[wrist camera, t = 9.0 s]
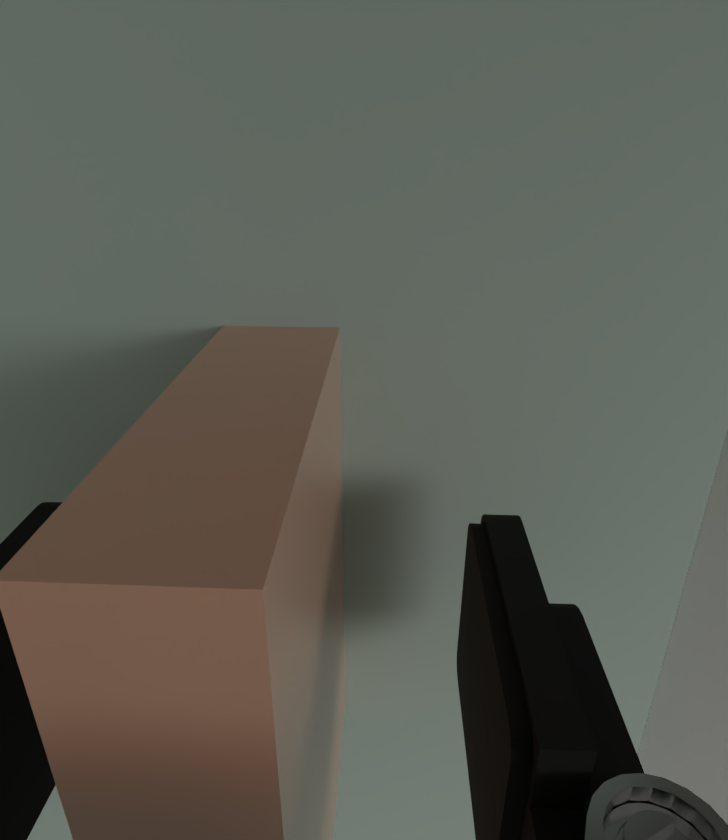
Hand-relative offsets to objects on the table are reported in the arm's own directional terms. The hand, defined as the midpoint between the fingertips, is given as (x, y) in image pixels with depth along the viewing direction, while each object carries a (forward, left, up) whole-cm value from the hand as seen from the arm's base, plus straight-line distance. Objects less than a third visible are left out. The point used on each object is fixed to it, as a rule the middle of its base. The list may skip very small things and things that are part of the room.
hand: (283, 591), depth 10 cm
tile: (0, 0, -2) cm, 2 cm away
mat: (0, -1, -2) cm, 2 cm away
